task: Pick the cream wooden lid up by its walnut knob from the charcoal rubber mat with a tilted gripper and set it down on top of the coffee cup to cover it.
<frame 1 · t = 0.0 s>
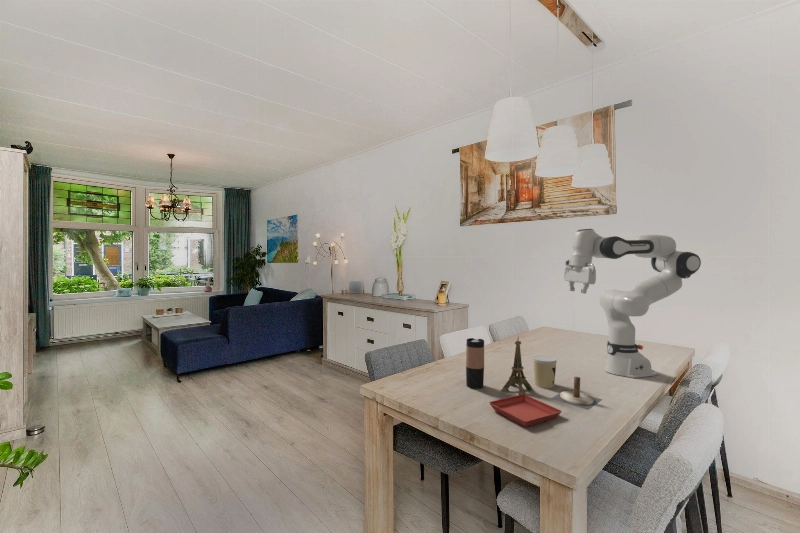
hand: (577, 292, 179), 39 cm above the table, tool pointing down, fingers open, 8 cm apart
coffee cup: (544, 386, 164), on the table
travel mug: (474, 386, 163), on the table
lid: (576, 399, 148), resting on mat
plant saucer: (524, 415, 136), on the table
eiffel tower: (517, 391, 158), on the table
mat: (576, 399, 149), on the table
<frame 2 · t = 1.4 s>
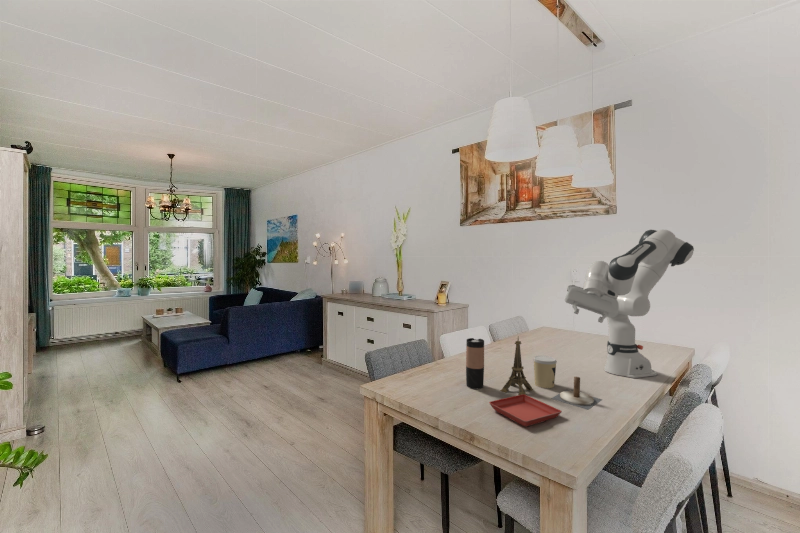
hand: (588, 317, 154), 31 cm above the table, tool tilted 45°, fingers open, 8 cm apart
nothing on the table moved.
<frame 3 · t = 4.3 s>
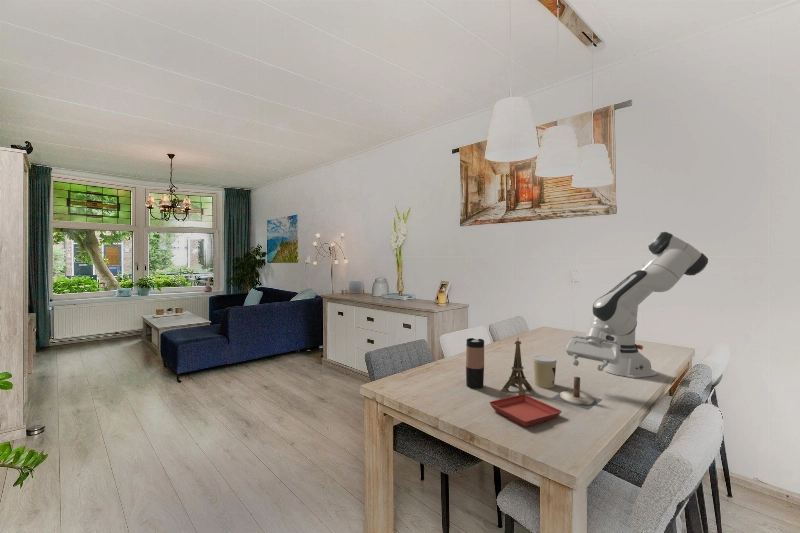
hand: (587, 367, 153), 11 cm above the table, tool tilted 45°, fingers open, 8 cm apart
nothing on the table moved.
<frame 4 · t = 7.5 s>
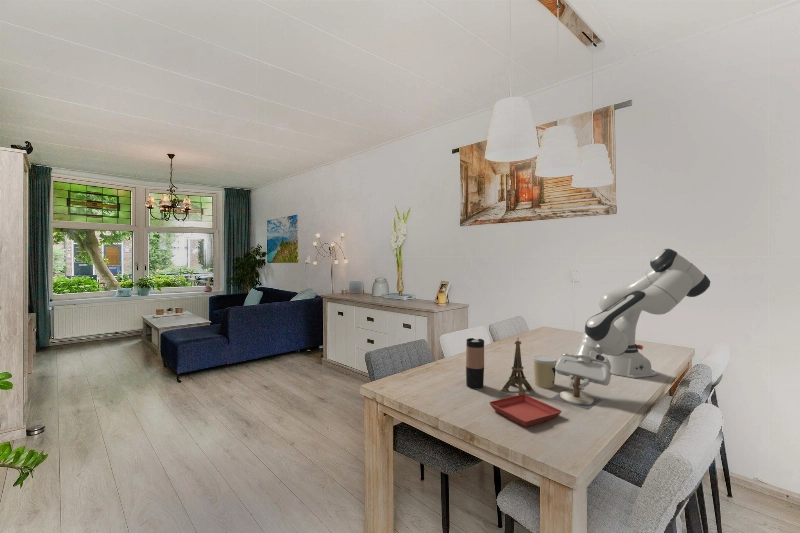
hand: (576, 387, 148), 5 cm above the table, tool tilted 45°, fingers closed on lid, 2 cm apart
lid: (576, 398, 149), resting on mat, touching gripper
everything else where it was.
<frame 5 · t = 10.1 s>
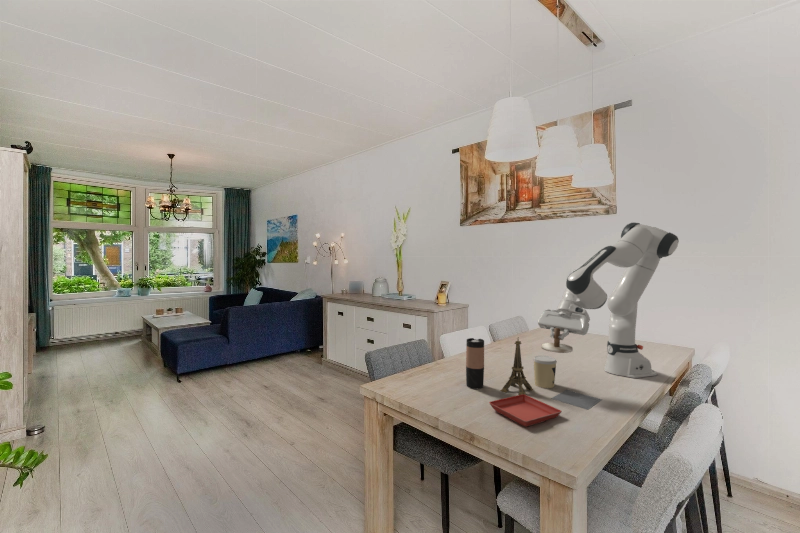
hand: (556, 338, 156), 22 cm above the table, tool tilted 45°, fingers closed on lid, 2 cm apart
lid: (556, 348, 157), point 18 cm above the table, touching gripper
everything else where it was.
when the fingers open (18 cm above the table, at t = 12.7 s): lid drops 2 cm, resting on coffee cup.
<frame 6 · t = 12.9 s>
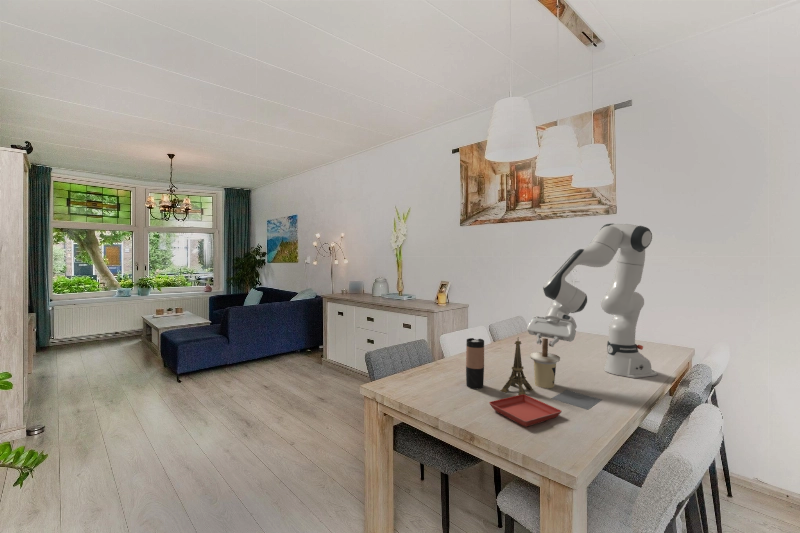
hand: (544, 344, 163), 18 cm above the table, tool tilted 45°, fingers open, 4 cm apart
coffee cup: (544, 386, 164), on the table, touching lid
lid: (544, 358, 163), point 12 cm above the table, touching coffee cup
everything else where it was.
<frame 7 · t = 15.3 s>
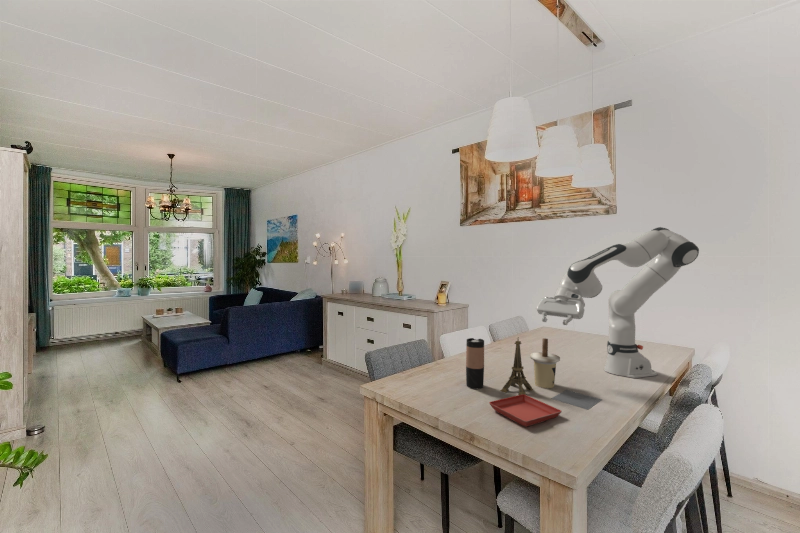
hand: (554, 322, 168), 26 cm above the table, tool tilted 45°, fingers open, 8 cm apart
nothing on the table moved.
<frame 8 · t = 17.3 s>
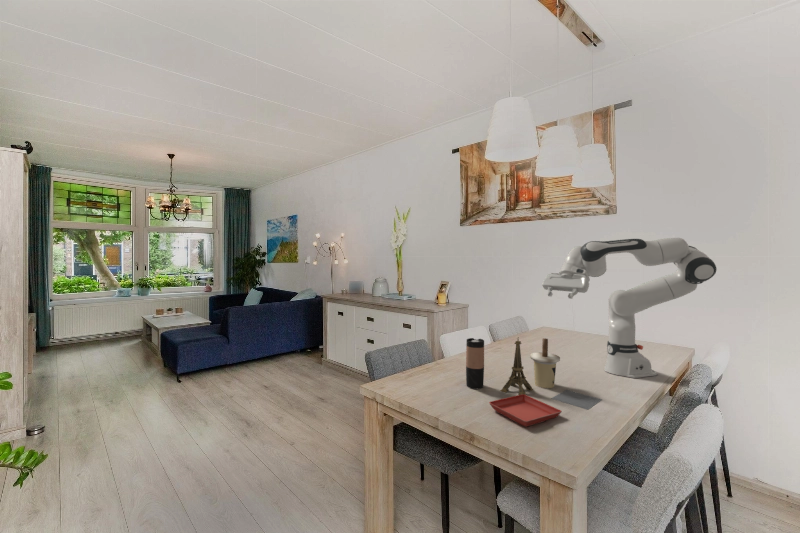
hand: (559, 296, 173), 37 cm above the table, tool tilted 45°, fingers open, 8 cm apart
nothing on the table moved.
at the end: lid 0.1 cm from the coffee cup (horizontally); lid point 12.0 cm above the table; lid tilted 0° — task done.
